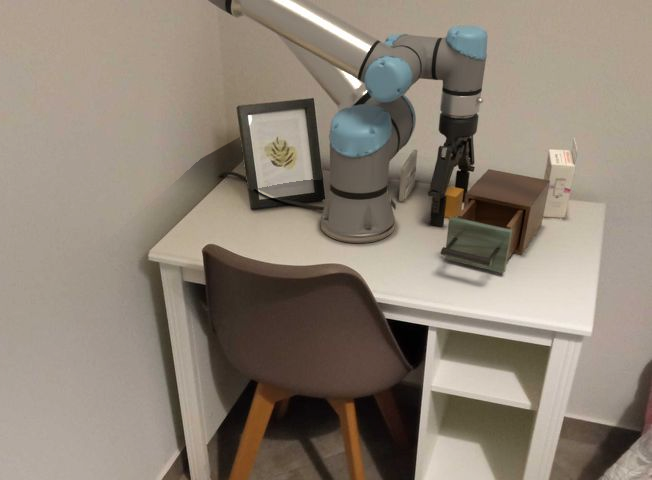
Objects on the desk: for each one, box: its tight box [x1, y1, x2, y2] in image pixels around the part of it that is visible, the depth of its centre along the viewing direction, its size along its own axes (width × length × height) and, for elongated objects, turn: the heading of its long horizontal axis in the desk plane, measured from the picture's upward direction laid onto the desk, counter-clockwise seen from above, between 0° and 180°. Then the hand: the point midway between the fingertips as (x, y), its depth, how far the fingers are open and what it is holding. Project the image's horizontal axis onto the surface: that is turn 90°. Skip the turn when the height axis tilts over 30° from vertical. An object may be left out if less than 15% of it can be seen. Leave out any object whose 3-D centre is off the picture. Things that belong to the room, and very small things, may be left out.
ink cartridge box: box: [543, 136, 579, 219], centre depth 148 cm, size 9×5×15 cm, turn 168°
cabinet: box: [463, 168, 550, 256], centre depth 141 cm, size 14×13×10 cm
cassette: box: [398, 149, 418, 203], centre depth 158 cm, size 12×2×8 cm, turn 159°
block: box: [444, 185, 464, 219], centre depth 150 cm, size 4×4×5 cm
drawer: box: [440, 199, 526, 274], centre depth 131 cm, size 19×11×8 cm, turn 149°
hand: (448, 212), depth 152 cm, fingers open, 13 cm apart
